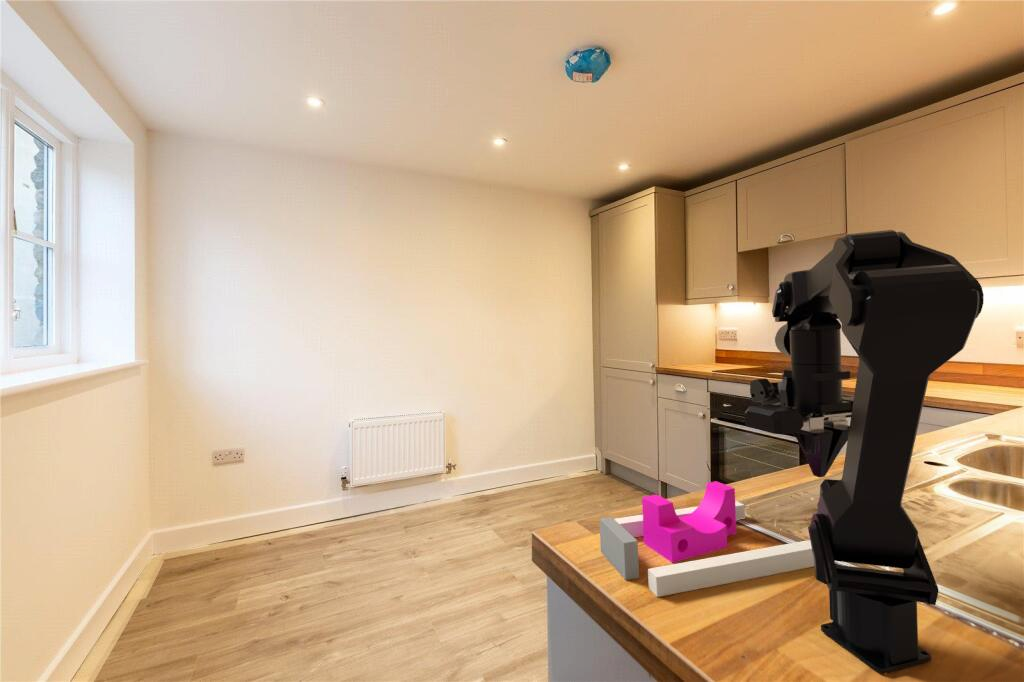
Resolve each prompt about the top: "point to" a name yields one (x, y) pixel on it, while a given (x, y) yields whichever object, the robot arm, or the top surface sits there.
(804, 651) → the top surface
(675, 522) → the toy block
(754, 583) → the top surface
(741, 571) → the chute
